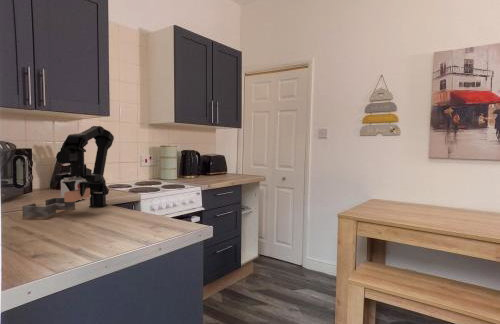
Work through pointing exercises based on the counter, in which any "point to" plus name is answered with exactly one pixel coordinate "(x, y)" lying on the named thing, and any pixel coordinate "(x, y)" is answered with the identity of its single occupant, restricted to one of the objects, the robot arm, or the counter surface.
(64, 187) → the supplement box
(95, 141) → the robot arm
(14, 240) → the counter surface
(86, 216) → the counter surface
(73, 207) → the bracket stand
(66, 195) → the rail
